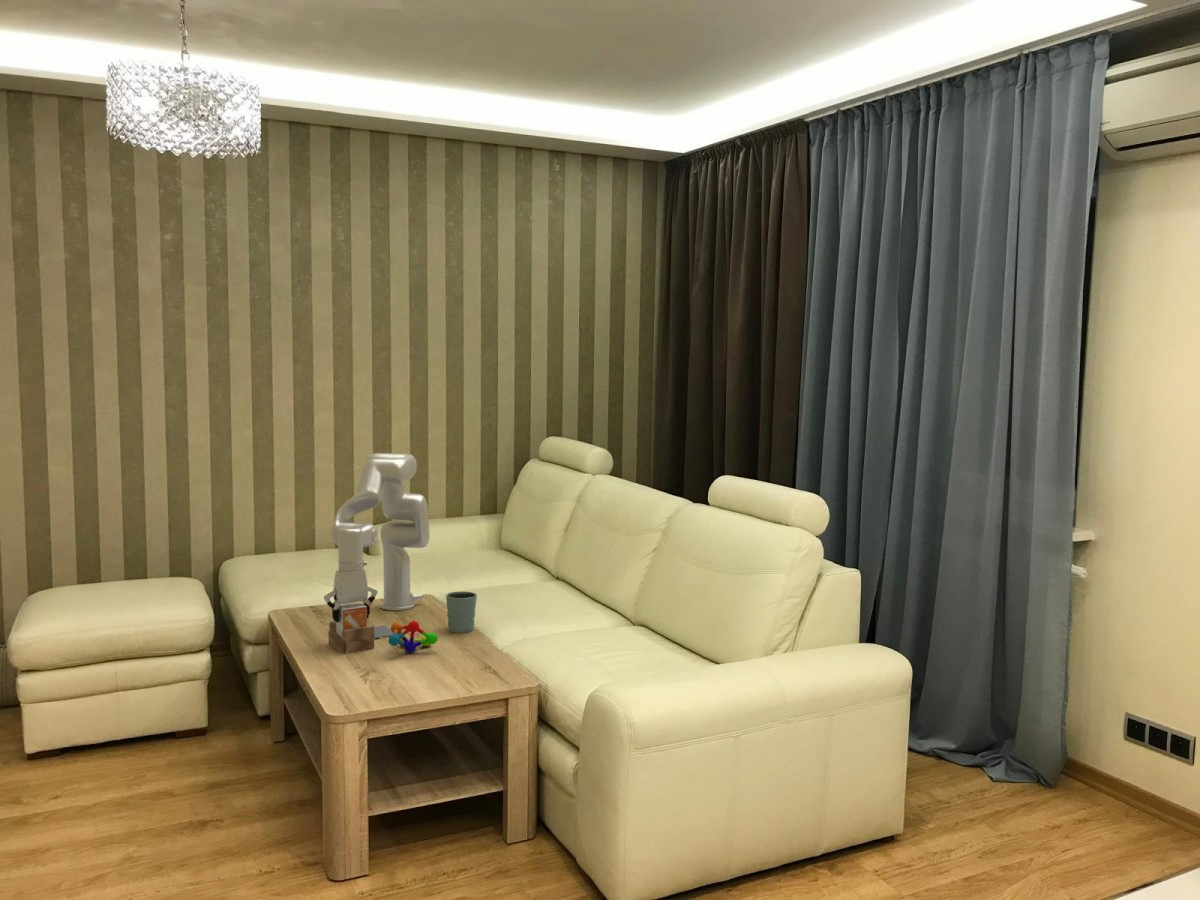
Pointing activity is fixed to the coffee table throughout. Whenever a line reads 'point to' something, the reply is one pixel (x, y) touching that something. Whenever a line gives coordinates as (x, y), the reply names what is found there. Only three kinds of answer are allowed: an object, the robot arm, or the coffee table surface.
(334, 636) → the slot
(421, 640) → the molecular model
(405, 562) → the robot arm
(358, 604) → the small box
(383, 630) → the coaster
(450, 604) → the blue-grey cup
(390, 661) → the coffee table surface
